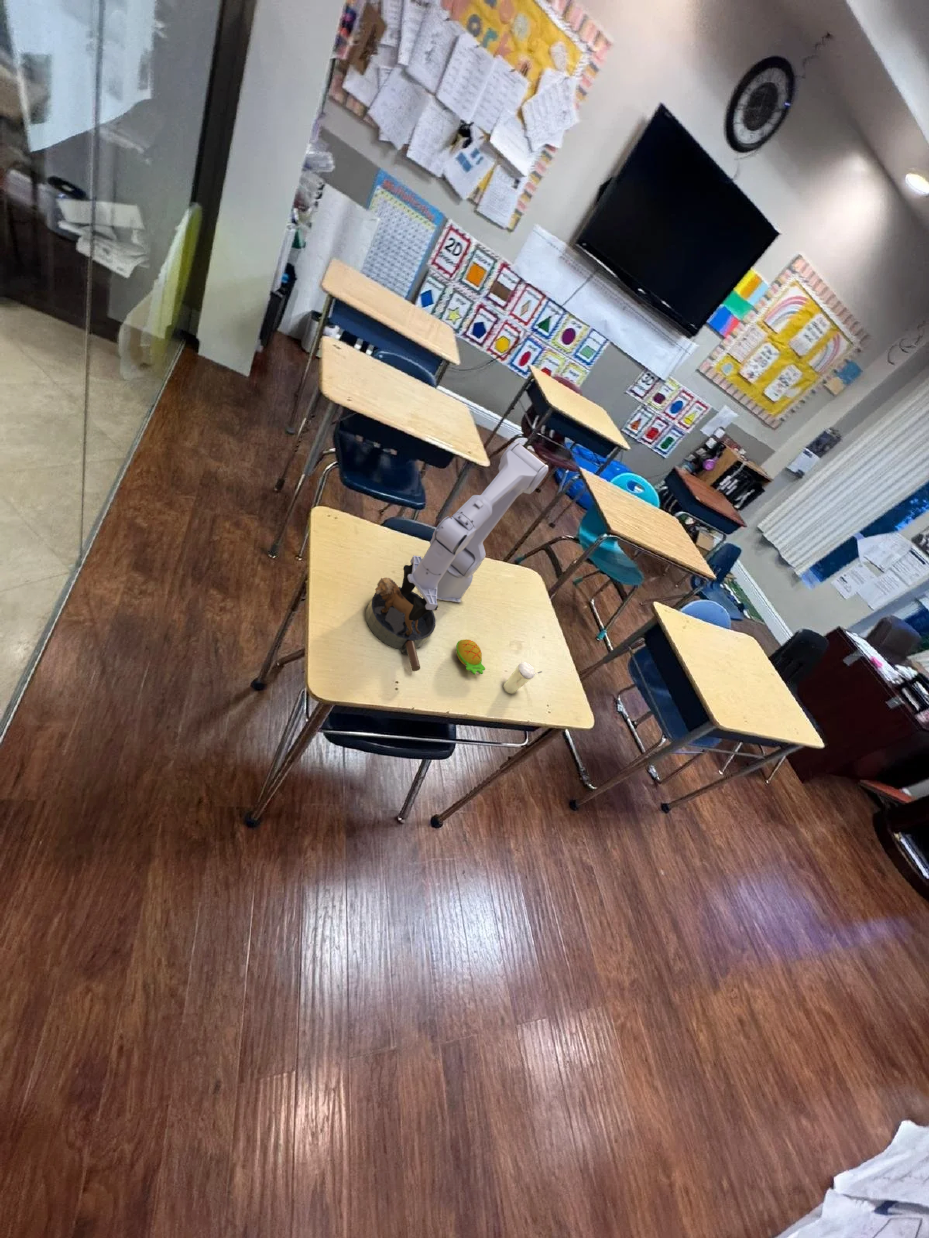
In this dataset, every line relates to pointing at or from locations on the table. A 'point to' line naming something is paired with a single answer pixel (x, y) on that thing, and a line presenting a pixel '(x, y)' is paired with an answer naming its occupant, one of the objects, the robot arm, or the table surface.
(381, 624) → the pan
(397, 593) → the lion figurine
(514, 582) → the table surface
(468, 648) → the toy pineapple
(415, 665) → the pan handle
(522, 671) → the milkshake
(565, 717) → the table surface
